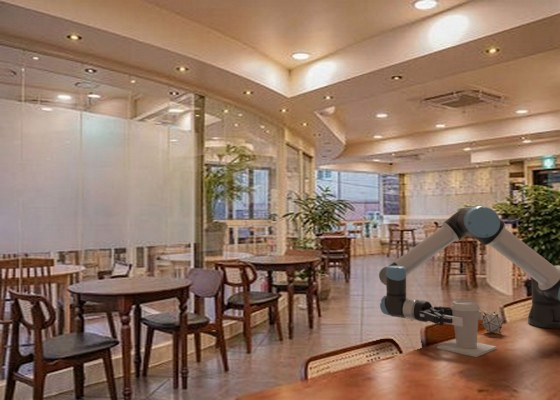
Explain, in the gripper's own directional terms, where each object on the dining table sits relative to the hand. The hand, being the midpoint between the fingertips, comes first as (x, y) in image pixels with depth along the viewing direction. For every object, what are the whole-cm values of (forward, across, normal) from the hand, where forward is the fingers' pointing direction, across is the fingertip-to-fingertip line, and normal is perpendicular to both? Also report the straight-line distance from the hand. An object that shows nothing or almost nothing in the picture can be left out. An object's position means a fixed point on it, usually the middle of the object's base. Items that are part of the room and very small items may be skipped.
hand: (472, 319), depth 166 cm
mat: (-2, 0, -10) cm, 11 cm away
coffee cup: (-2, 0, -10) cm, 10 cm away
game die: (-6, -27, -11) cm, 30 cm away
